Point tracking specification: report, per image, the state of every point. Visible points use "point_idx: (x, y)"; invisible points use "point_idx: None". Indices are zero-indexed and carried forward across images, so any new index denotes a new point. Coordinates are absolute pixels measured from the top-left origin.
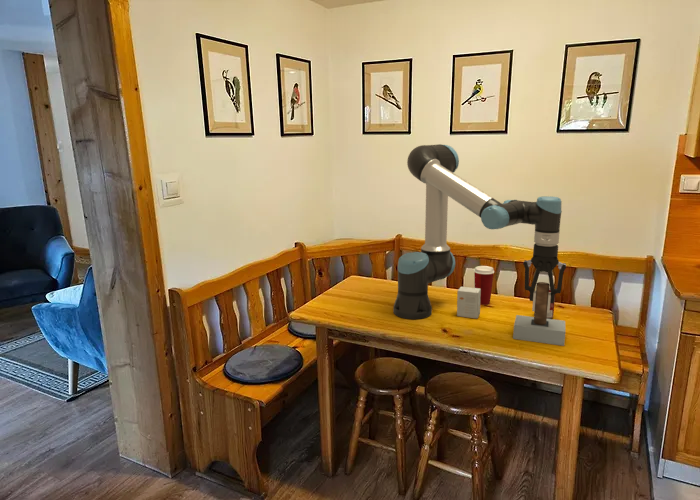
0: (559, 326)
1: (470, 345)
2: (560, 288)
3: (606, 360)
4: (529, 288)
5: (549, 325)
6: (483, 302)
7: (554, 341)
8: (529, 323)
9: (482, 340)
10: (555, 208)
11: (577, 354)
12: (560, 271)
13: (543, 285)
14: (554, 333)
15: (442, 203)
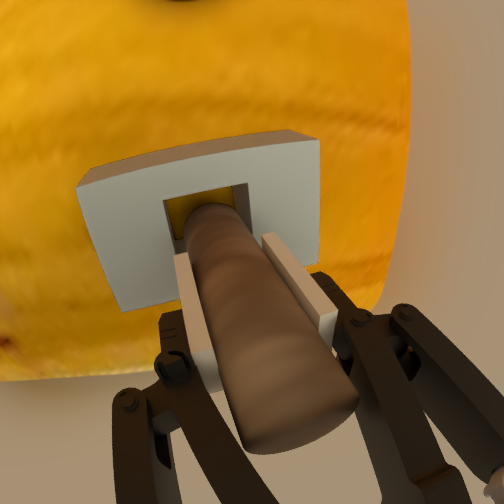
0: (298, 223)
1: (63, 368)
2: (412, 366)
3: (379, 261)
4: (174, 422)
5: (257, 234)
6: None
7: None
8: (170, 262)
9: (62, 333)
10: None
11: (325, 269)
12: (479, 470)
13: (306, 442)
14: None
15: None
